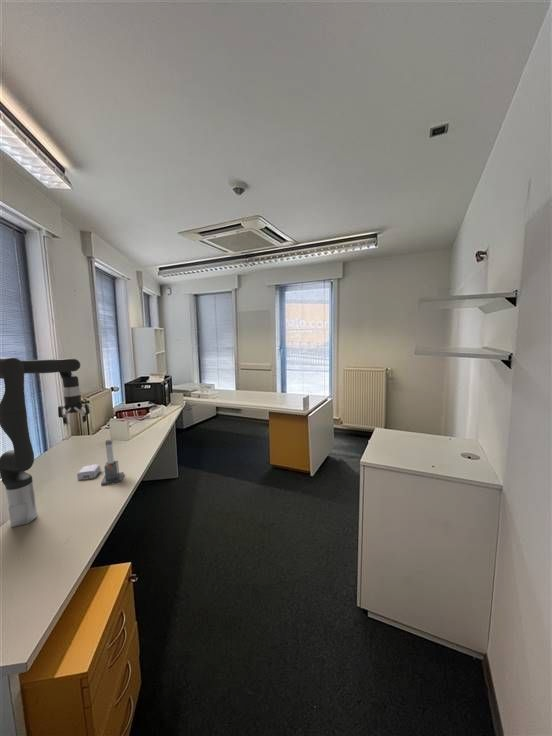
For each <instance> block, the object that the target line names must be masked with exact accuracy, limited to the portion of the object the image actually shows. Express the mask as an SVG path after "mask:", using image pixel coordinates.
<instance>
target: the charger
mask: <svg viewBox="0 0 552 736" xmlns="http://www.w3.org/2000/svg"><path fill="white" fill-rule="evenodd" d="M100 472H101V466H100V464H98V463H96V464H91V465H84V466H82V468H81V469H80V470H79V471H78V472H77V474H76V476H77V478H76V479H77V480H78V481H81V480H82V479H83V480H89V479H88V478H91V479H96V477H97V475H98V474H99V473H100ZM83 480H82V481H83Z"/></svg>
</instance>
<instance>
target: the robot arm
mask: <svg viewBox="0 0 552 736" xmlns="http://www.w3.org/2000/svg"><path fill="white" fill-rule="evenodd" d="M79 369H81V362H80V361H79V360H78V359H76V358H61V359H60V358H59V359H58V358H57V359H56V358H50V359H49V358H47V359H46V358H44V359H43V358H42V359H28V360H20V359H19V358H17V357H0V379H1V380H3V383H4V393H3V396H2V399H1V401H0V428H1V429H2V431H3V432H4V434H6V435H7V437H8V438H9V439H10V441H11V444H12V446H13V450H8V451H5V452H4V453H3V454H2V455H1V456H0V479H1V483H2V484H3V485H4V487H5V491H6V499H7V507H8V513H9V521H10V526H11V528H15V527H19V526H24V525H27V524H29V523H31V522H32V521H34V520H35V519H37V517H38V510H37V503H36V496H35V489H34V481H33V477H32V475H31V474H30V473H28V472H27V471H28V470H30V469H31V468H32V466H33V465H34V462H35V453H34V449H33V446H32V442H31V438H30V432H29V425H28V424H29V423H28V413H27V412H28V411H27V407H26V397H25V375H26V374H53V373H55V374H56V373H59V375H60V377H61V380H62V386H63V400H64V405H59V406H58V407H57V411H58V414H57V415H58V418H62V419H63V420H62V421H63V424H64V425H68V423H69V422H68V415H69V414H73V413H74V414H76V413H78V414H80V415H81V416H82V423H83V424H84V423H86V422H87V416H88V415H89V414H91V411H90V405H89V403H82V395H81V393H82V392H81V388H80V382H79V377H78V376H77V375H74V374H73V372H77V371H78V370H79ZM83 408H84V409H85V411H84V410H83ZM64 410H65V413H63V411H64Z"/></svg>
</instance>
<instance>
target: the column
mask: <svg viewBox="0 0 552 736" xmlns="http://www.w3.org/2000/svg"><path fill="white" fill-rule="evenodd" d="M113 441H114V440H113V439H106V440H105V449H106V459H107V460H106V461H107V462H108V465H113V464H115V461H116V459H115V452H114V443H113Z"/></svg>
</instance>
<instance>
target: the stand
mask: <svg viewBox="0 0 552 736" xmlns="http://www.w3.org/2000/svg"><path fill="white" fill-rule="evenodd" d="M104 474H105V475H104V476H103V479H102V481H101V482H100V484H101V485H100V486H102V485H103V486H106V485H107V484H108V485H112V483H114V484H118V482H119V483H122V480H123V479H124V476H125V473H124V471H122V472H120V467H119V461H118V460H115V464H113V465H108V461H107V462H106V463H105V464H104Z"/></svg>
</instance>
